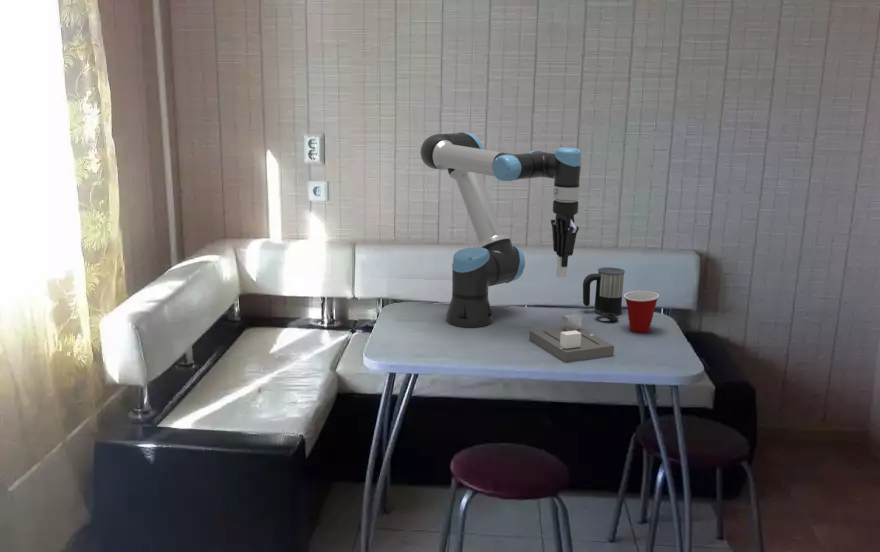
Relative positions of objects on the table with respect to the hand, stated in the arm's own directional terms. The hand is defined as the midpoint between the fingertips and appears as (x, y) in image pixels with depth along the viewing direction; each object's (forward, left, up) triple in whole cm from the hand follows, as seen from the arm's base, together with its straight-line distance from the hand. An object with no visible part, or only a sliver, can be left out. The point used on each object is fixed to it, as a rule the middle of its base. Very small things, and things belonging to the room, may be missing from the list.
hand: (561, 276), depth 252 cm
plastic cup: (+7, +25, -19) cm, 32 cm away
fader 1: (+6, +1, -15) cm, 16 cm away
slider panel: (+13, -4, -18) cm, 23 cm away
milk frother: (-10, +25, -19) cm, 33 cm away
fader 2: (+20, -8, -15) cm, 27 cm away
